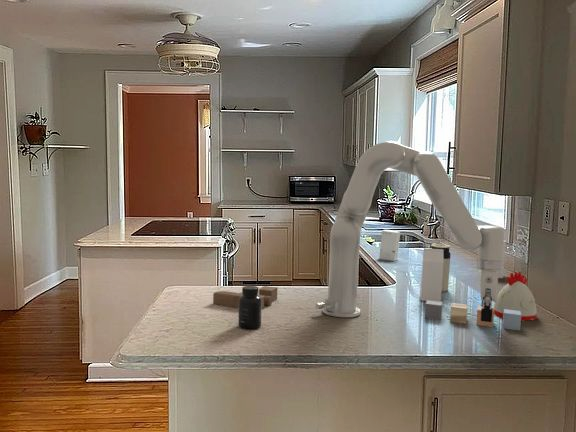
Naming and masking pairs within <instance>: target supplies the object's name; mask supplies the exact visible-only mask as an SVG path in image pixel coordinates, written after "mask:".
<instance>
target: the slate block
mask: <svg viewBox="0 0 576 432" xmlns="http://www.w3.org/2000/svg"><path fill="white" fill-rule="evenodd" d="M521 322H522V321H521V311H516V310H507V309H504V312H503V318H502V329H505V330H506V329H507V330H514V331H521V326H522V325H521V324H522V323H521Z"/></svg>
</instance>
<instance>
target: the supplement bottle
mask: <svg viewBox="0 0 576 432" xmlns="http://www.w3.org/2000/svg"><path fill="white" fill-rule="evenodd" d="M241 293H242V294H243V295H242V296H241V297H240V298H239V308H238V319H237V320H238V322H237V323H238V324H237V325H238V327H239V328H240V329H242V330H246V331H248V330H249V331H250V330H251V331H252V330H257V329H259V328H261V326H262V310H263V309H262V299H261V297H260V296H258V295H259V287H258V286H256V285H245V286H242V289H241ZM261 309H262V310H261Z"/></svg>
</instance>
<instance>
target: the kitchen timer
mask: <svg viewBox="0 0 576 432" xmlns="http://www.w3.org/2000/svg"><path fill="white" fill-rule="evenodd" d="M506 280H507V284H505V285H504V286H503V287H502V288H501V290H499V291H497V302H496V303H495V302H494V303H493V305H492V308H494V316H497V317H499V318H502V319H503V312H504V309H507V310H516V311H521V320H524V321H523V322H526V321H525V320H532V319H535V318H536V319H537V317H536V316H538V315H537V314H538V311H537V305H536V299H535V297H534V295H533V293H532V291H531V290H530V288H529V287H528V286H527V285H526V283H527V282H528V278H526V277H525V274H522V273H521V272H520V271H518V272H516V271H515V272H514V273H513V272H510V275H509V276H506ZM536 319H535V320H536ZM532 321H533V320H532Z"/></svg>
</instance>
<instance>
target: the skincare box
mask: <svg viewBox="0 0 576 432" xmlns="http://www.w3.org/2000/svg"><path fill="white" fill-rule="evenodd" d="M400 236H401V231H399V230H398V231H396V230H391V229H383V230H381V237H380V238H381V239H380V246H379V247H380V248H379V260H382V261H392V262H395V261H397V260H398V256H399V250H400V249H399V247H400V240H401V239H400V238H401V237H400Z"/></svg>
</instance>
